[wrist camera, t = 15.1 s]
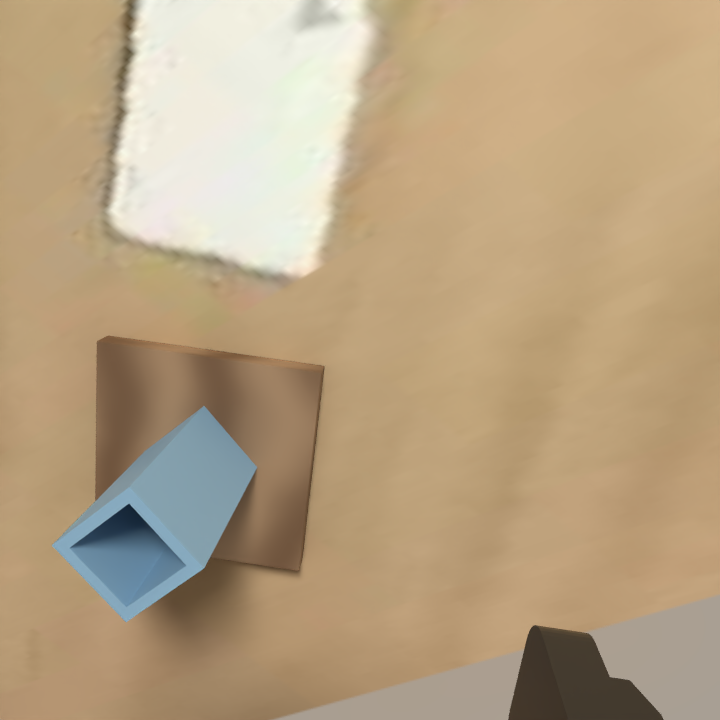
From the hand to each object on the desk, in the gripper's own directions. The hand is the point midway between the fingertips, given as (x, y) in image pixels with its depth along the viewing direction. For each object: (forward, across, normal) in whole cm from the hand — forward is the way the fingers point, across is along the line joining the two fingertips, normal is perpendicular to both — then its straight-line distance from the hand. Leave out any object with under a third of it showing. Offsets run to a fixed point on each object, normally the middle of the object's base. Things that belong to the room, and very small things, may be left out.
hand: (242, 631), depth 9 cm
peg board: (+30, +9, +12) cm, 34 cm away
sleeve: (+29, +9, +12) cm, 32 cm away
